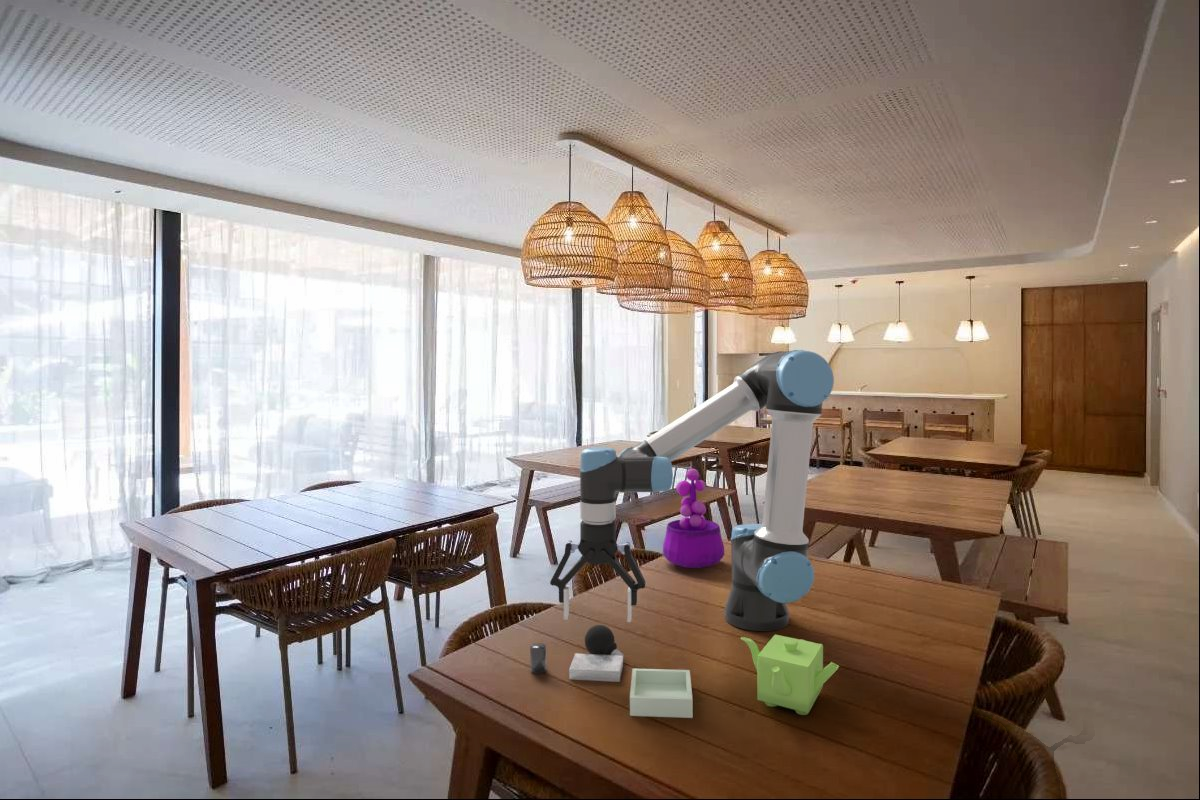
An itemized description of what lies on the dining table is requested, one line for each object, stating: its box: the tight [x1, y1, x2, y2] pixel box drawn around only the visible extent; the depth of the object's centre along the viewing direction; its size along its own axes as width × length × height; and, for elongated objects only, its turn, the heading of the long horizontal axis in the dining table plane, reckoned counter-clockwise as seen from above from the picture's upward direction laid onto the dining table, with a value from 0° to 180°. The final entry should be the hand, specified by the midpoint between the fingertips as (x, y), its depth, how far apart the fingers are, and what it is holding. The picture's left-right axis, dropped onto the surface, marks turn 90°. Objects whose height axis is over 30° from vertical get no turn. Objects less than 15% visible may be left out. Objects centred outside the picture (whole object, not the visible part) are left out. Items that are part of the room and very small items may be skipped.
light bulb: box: [584, 624, 625, 657], centre depth 137 cm, size 6×6×10 cm
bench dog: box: [529, 642, 547, 675], centre depth 132 cm, size 3×3×5 cm
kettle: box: [740, 634, 840, 716], centre depth 118 cm, size 15×14×11 cm
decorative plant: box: [662, 468, 725, 569], centre depth 198 cm, size 19×18×30 cm
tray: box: [629, 668, 694, 719], centre depth 119 cm, size 11×11×3 cm
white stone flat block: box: [568, 653, 624, 683], centre depth 131 cm, size 10×7×2 cm
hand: (597, 618), depth 138 cm, fingers open, 13 cm apart
